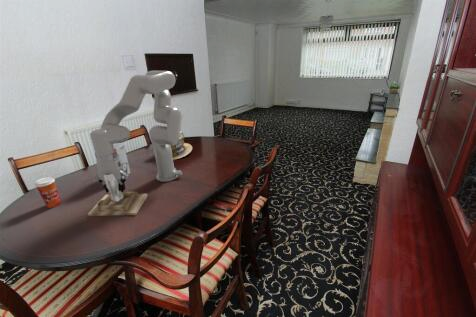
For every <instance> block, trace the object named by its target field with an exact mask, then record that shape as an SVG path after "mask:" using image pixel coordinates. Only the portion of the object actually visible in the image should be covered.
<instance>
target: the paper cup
mask: <svg viewBox="0 0 476 317" xmlns="http://www.w3.org/2000/svg"><path fill="white" fill-rule="evenodd" d="M55 181H56V179H55V178H54V177H52V176H46V177H42V178H39V179H37V180H36V181H35V182H34V187H36V189H37V190H38V192H39V194H40V196H41V198H42V200H43V202H44V204H45V206H46V208H49V209H51V208H52V209H53V208H56V207H58V206H60V205H61V204H62V202H61V199H60V196H59V192H58V189H57V186H56V182H55Z"/></svg>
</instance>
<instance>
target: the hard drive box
mask: <svg viewBox="0 0 476 317" xmlns="http://www.w3.org/2000/svg"><path fill="white" fill-rule="evenodd" d="M113 147H114V151H115V153H116V154H118V158H119V160H120V162H121V164H122V167H123V170H124V172H125V173H126V174H128V175H130V174H131V169H130V165H129V161H128V156H127V151H126V146H125V143H124V142H121V143H115V144H113ZM94 155H95V158H96V160H97V157H96V154H95V153H94ZM122 178H123V179H124V178H125V177H124V176H122Z"/></svg>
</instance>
